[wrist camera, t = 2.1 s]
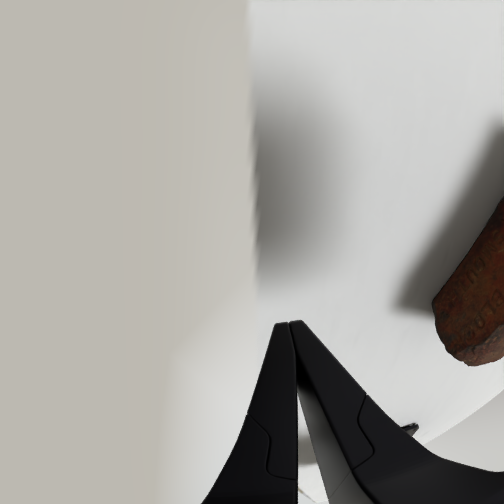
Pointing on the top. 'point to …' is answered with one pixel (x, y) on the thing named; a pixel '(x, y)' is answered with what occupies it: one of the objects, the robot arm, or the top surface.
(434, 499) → the robot arm
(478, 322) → the brick
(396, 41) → the top surface
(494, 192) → the top surface
